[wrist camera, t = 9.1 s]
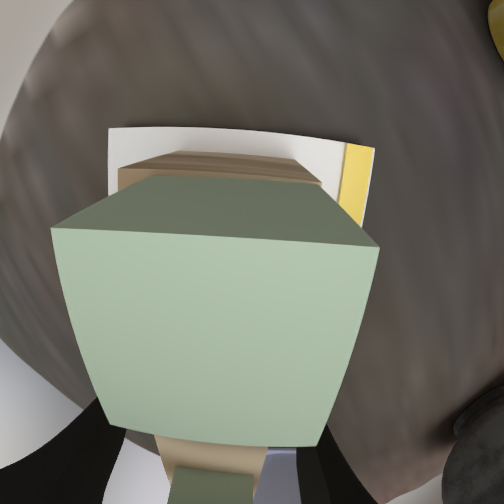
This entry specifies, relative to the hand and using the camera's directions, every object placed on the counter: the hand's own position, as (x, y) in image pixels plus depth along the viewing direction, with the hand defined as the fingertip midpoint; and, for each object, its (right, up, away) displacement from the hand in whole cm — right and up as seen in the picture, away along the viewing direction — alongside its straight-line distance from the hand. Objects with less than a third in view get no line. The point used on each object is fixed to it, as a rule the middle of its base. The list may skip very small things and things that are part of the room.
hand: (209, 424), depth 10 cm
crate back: (0, -6, +3) cm, 7 cm away
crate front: (+1, +6, -2) cm, 7 cm away
